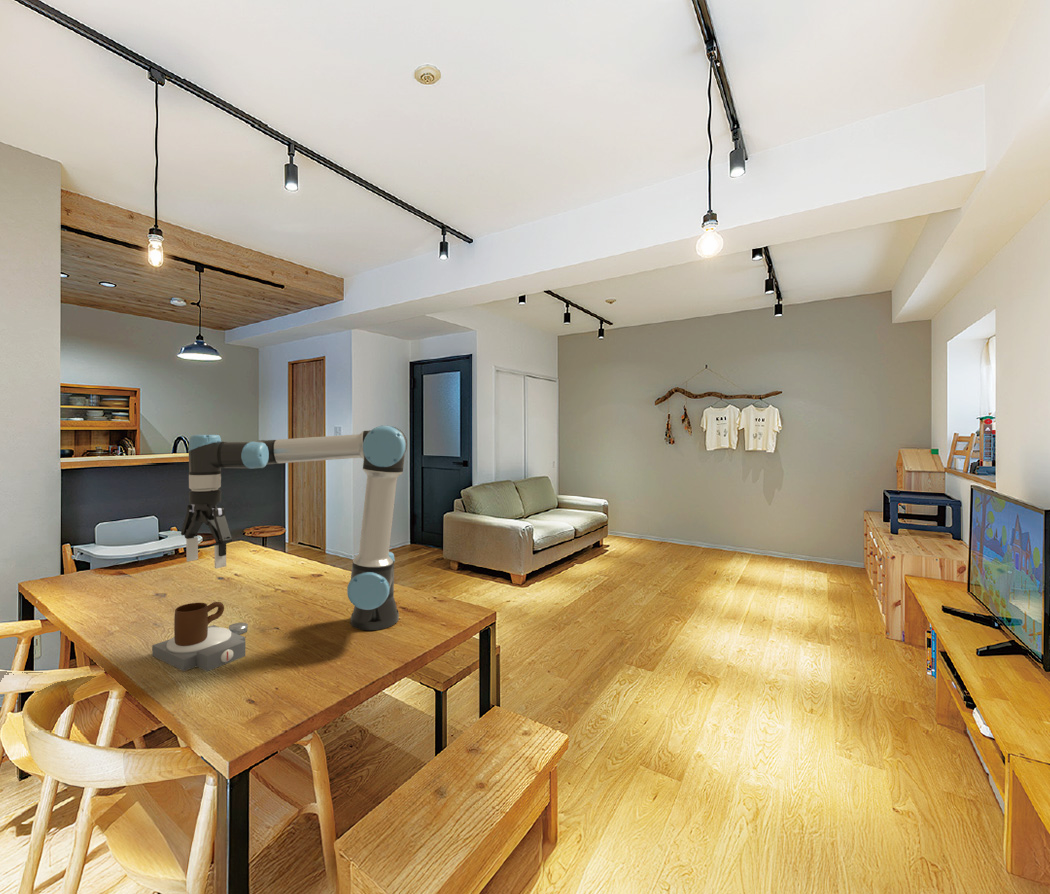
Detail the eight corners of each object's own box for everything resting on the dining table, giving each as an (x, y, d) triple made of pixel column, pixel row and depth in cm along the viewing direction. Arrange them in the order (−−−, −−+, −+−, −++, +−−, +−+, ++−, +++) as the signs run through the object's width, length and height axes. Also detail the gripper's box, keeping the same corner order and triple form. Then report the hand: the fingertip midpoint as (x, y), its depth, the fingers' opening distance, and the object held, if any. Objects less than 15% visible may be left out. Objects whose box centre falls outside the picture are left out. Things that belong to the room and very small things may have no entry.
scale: (256, 651, 135) (256, 638, 135) (195, 676, 121) (195, 661, 121) (213, 634, 145) (213, 621, 145) (152, 655, 131) (152, 641, 131)
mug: (218, 627, 142) (218, 596, 141) (229, 634, 137) (229, 602, 137) (169, 641, 132) (170, 607, 132) (180, 649, 127) (180, 614, 127)
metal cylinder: (248, 628, 151) (248, 622, 151) (246, 634, 147) (246, 627, 147) (229, 629, 149) (230, 623, 149) (227, 635, 145) (227, 629, 145)
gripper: (245, 491, 133) (246, 566, 134) (194, 485, 144) (194, 554, 145) (218, 494, 126) (218, 573, 127) (166, 487, 138) (167, 560, 139)
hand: (206, 563), depth 136 cm, fingers open, 13 cm apart
